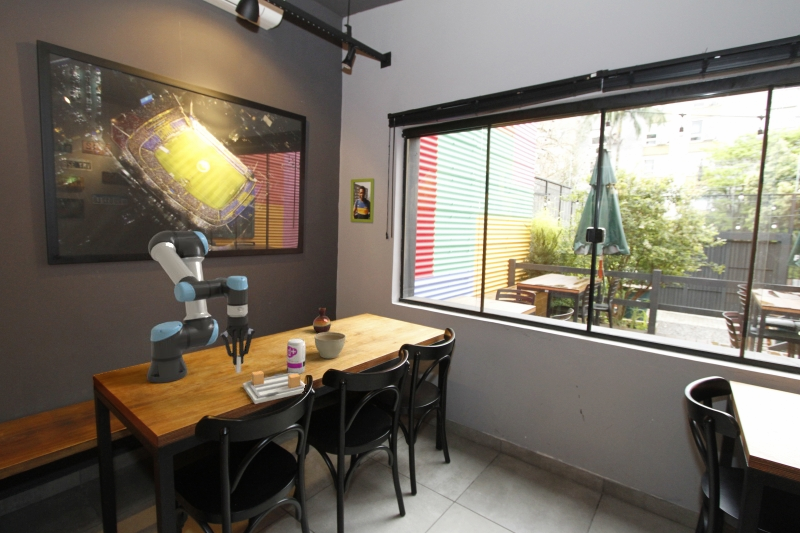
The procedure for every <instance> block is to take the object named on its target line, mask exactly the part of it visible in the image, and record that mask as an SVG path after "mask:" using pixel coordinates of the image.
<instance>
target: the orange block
mask: <svg viewBox="0 0 800 533" xmlns="http://www.w3.org/2000/svg"><path fill="white" fill-rule="evenodd" d="M264 378H265V373H264V372H263V370H258V371H252V372H251V381H252V385H253V386H254V385H259V384H264Z"/></svg>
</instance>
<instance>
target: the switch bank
mask: <svg viewBox="0 0 800 533" xmlns="http://www.w3.org/2000/svg"><path fill="white" fill-rule="evenodd" d="M291 374H292V373H288V372H287V373H283V372H281V373H275V374H273V375H272V376H267V377H264V384H259V385H254V386H253V385H252V380H248V381H246V382H244V383H242V388H243V389H244V390H245V392H246V394H248V396H249V398H250V399H251V401H252V402H253V404H255V405H256V404H260V403H265V402H270V401H274V400H278V399H282V398H287V397H292V396H295V395H300V394H303V393H302V392H303V391H304V388H305V385H306V383H304V382H303V380H301V379H300V387H295V388H289V387H288V375H291ZM293 374H294V373H293Z"/></svg>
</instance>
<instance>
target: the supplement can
mask: <svg viewBox="0 0 800 533" xmlns="http://www.w3.org/2000/svg"><path fill="white" fill-rule="evenodd" d="M286 344H287V345H286V347H287V348H286V349H287V350H286V372H287V373H292V374H293V373H294V374H296V373H298V374H299V375H301V374H303V373H304V372H305V371H306V341H305V339H304V338H290V339H289V340H288V341H287V343H286Z"/></svg>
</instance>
